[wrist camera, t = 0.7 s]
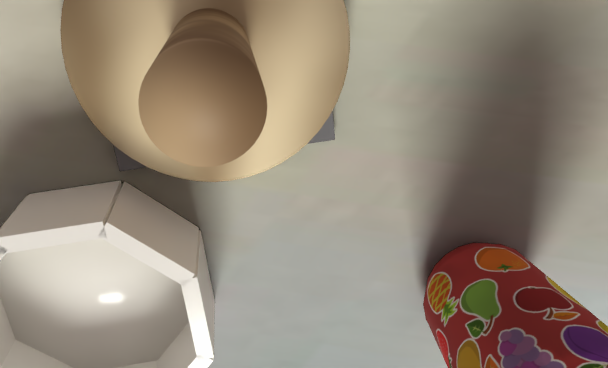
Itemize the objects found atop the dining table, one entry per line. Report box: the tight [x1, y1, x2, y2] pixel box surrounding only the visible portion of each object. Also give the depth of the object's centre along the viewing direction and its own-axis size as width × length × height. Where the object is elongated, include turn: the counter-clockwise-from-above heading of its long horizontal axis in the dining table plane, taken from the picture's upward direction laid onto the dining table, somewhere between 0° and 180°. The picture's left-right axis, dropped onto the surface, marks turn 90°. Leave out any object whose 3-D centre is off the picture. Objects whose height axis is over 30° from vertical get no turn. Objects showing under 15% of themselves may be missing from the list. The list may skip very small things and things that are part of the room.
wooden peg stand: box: [61, 0, 350, 182], centre depth 22 cm, size 13×13×12 cm
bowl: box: [0, 180, 215, 368], centre depth 30 cm, size 12×12×5 cm
